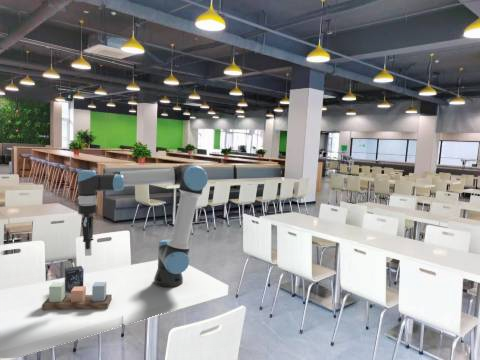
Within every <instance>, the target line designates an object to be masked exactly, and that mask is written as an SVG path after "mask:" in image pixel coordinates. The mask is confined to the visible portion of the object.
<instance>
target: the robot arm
mask: <svg viewBox="0 0 480 360" xmlns="http://www.w3.org/2000/svg"><path fill="white" fill-rule="evenodd" d="M77 177H78V178H77V188H78V197H77V198H76V199H77V200H78V214H81V215H83V217H82V222H81V227H82V237H83V240H82V242H83V243H84V256H87V257H89V256H91V257H92V255H93V245H92V244H93V243H92V241H94V237H93V236H94V233H93V232H94V219H95V218H94V216H93V214H96V213H97V211H98V210H97V206H98V205H97V201H98V200H97V192H112V191H113V192H118V191H123V190H124V188H125V187H131V186H132V187H134V186H146V185H147V186H148V185H159V184H160V185H162V184H171V185H172V186H174V185H177V186H178V185H179V188H178V191H179V192H180V196H179V200H178V201H179V202H178V207H177V211H176V214H175V219H174V224H173V228H172V229H173V230H172V233H171V236H170V239H162V240H159V242H158V245H157V247H158V248H157V249H158V251H157V269H156V271H155V275H154V278H153V283H154V285H155V286H157V287H163V288H173V287H176V286H180V285H182V284H183V283H184V282H183V280H184V277H183V274H182V273H183V272H185V271H186V270H187V269H188V267H189V265H190V259H189V258H190V257H189V254H190V253H189V252H190V248H191V247H190V245H189V243H188V242H189V239H190V234H191V230H192V226H193V221H194V216H195V212H196V208H197V202H198V198H199V197H200V196H202V195H203V191H204V188H205V187H206V186H207V184H208V181H209V180H208V179H209V176H208V173H207V172H206V170H205V169H204V168H203V167H201V166H200V165H194V164H191V163H190V164H182V165H174V166H170V168H157V169H156V168H155V169H141V170H125V171H122V170H121V171H105V172H104V173H102V174H97V171H96V170H91V169H85V170H84V169H83V170H79V171H78V176H77Z"/></svg>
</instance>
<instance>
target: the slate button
mask: <svg viewBox="0 0 480 360" xmlns="http://www.w3.org/2000/svg"><path fill="white" fill-rule="evenodd" d="M91 287H92V288H91V291H92V293H91V295H92V301H104V300H105V298H106V295H107V281H95V282H94V283H93V284H92V286H91Z"/></svg>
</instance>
